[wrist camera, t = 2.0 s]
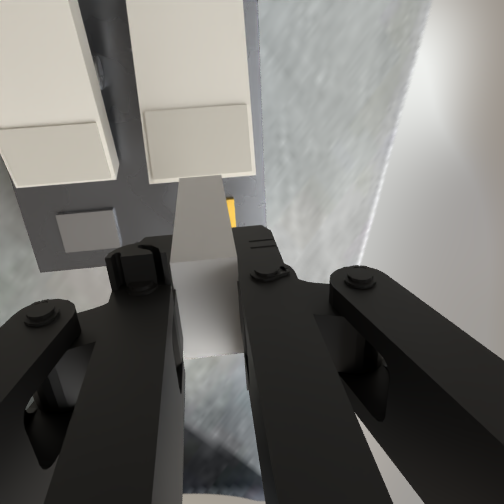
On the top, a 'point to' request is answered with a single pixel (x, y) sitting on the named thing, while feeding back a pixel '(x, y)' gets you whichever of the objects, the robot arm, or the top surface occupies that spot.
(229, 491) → the top surface
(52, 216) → the switch unit
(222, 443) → the top surface
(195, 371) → the top surface
